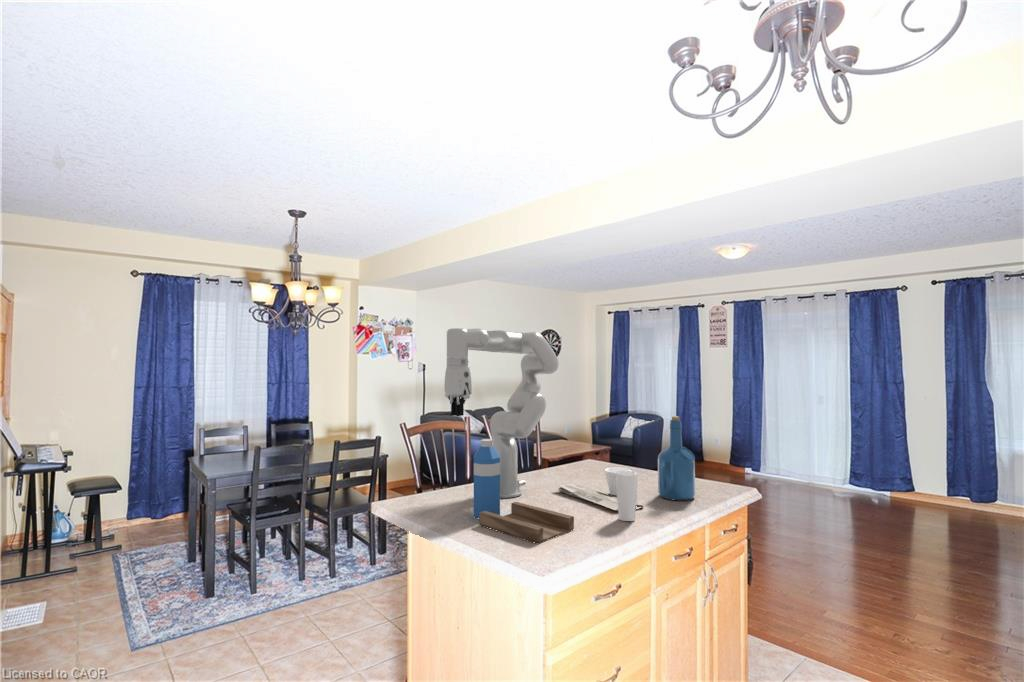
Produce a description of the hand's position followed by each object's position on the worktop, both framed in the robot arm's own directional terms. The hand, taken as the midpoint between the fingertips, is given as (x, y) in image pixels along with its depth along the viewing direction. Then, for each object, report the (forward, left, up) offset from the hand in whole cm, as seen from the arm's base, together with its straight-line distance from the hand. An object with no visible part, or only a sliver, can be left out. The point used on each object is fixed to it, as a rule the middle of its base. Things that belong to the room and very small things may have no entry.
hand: (457, 415), depth 184 cm
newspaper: (-40, +30, -33) cm, 60 cm away
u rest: (0, +33, -32) cm, 46 cm away
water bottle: (0, +15, -32) cm, 36 cm away
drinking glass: (-28, +51, -32) cm, 67 cm away
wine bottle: (-65, +50, -32) cm, 88 cm away
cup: (-53, +32, -32) cm, 70 cm away
